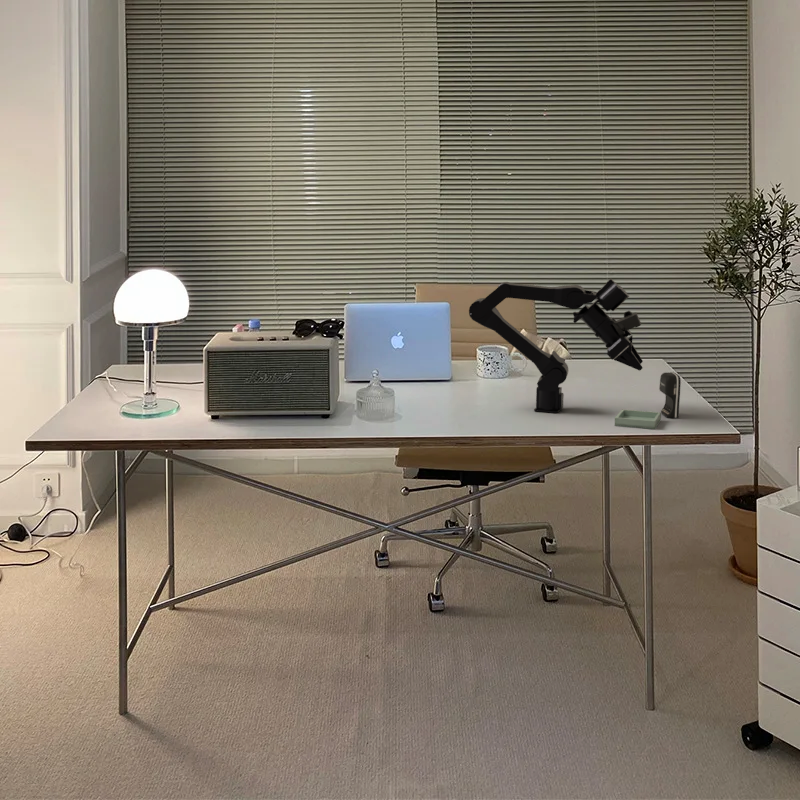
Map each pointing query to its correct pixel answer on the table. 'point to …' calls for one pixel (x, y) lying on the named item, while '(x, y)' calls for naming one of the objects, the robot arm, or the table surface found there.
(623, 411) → the tray
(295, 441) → the table surface
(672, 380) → the dark grey curved piece
